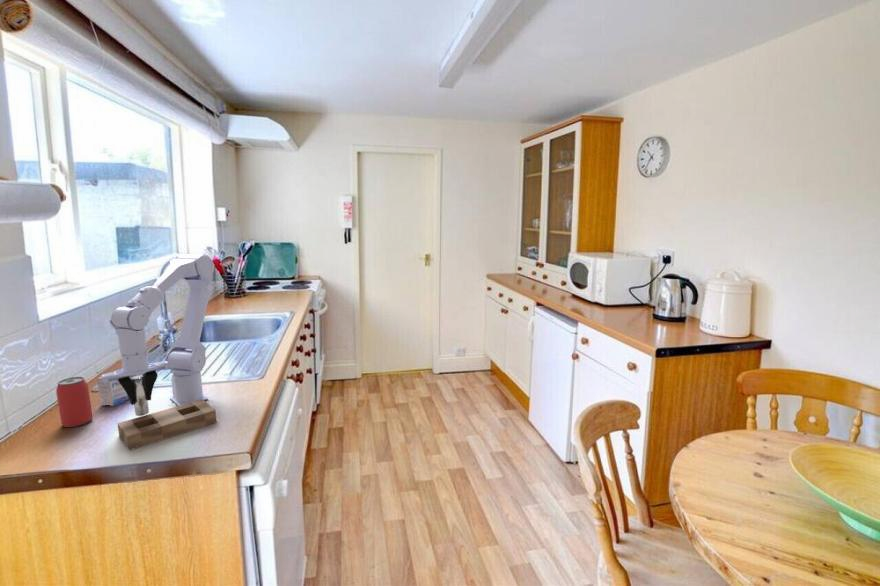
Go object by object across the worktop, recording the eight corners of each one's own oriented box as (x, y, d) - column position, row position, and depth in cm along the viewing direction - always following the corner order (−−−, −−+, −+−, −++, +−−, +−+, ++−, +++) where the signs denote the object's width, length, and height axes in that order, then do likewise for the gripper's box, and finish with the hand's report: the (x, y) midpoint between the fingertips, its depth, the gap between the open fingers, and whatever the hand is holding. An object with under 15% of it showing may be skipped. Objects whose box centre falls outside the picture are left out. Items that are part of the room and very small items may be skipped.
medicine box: (113, 406, 131) (109, 378, 129) (100, 405, 132) (96, 377, 130) (136, 396, 138) (132, 369, 137) (124, 394, 139) (120, 368, 138)
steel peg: (134, 413, 120) (129, 378, 118) (147, 409, 122) (142, 375, 120) (137, 417, 118) (132, 381, 116) (150, 413, 120) (145, 377, 118)
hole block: (119, 436, 114) (117, 423, 113) (203, 410, 128) (201, 399, 127) (129, 450, 107) (127, 436, 106) (216, 422, 121) (215, 410, 121)
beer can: (86, 415, 126) (80, 374, 123) (97, 420, 122) (91, 378, 120) (57, 424, 120) (50, 382, 118) (68, 430, 117) (61, 387, 115)
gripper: (103, 362, 109) (110, 415, 111) (170, 349, 119) (175, 397, 121) (97, 356, 113) (104, 406, 116) (162, 343, 124) (167, 390, 126)
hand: (140, 401), depth 119 cm, fingers closed on steel peg, 3 cm apart
